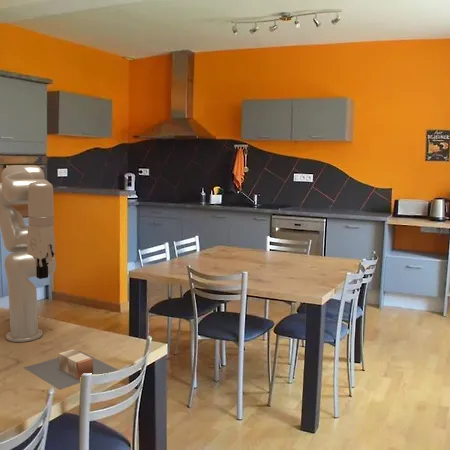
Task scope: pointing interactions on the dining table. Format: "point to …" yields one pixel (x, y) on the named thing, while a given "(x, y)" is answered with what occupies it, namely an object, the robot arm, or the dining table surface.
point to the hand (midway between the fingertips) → (42, 277)
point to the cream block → (75, 363)
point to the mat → (61, 378)
